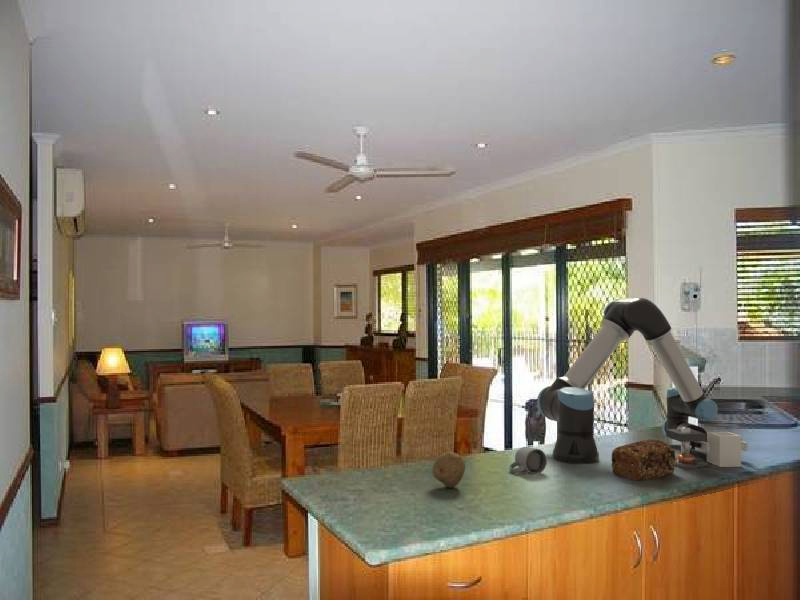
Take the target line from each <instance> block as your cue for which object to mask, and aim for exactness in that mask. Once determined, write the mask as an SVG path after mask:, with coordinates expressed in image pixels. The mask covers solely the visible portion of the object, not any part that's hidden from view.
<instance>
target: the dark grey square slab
mask: <svg viewBox="0 0 800 600" xmlns="http://www.w3.org/2000/svg"><path fill="white" fill-rule="evenodd" d="M665 436H666V437H667V438H669V439H671V438H672V439H671V440H673V439H674V440H673V441H677V442H680V443H681V442H686V441H706V434H705V433H702V432H699V431H696V430H693V429H690V432H688V433H683V432H681V429H666V435H665Z"/></svg>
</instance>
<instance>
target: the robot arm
mask: <svg viewBox="0 0 800 600" xmlns="http://www.w3.org/2000/svg"><path fill="white" fill-rule="evenodd" d="M600 324H601V327H600V329H599V330H598V331H597V333H595V335H594V336H593V338H592V339H591V340H590V342H589V343H588V344H587V345H586V347H585V348H584V350H583V351H582V352H581V353H580V354H579V356H578V357H577V358H576V360H575V361H574V362H573V363H572V365H571V366H570V368H568V370H567V372H566V373H565V374H564V375H563V376H561V377H559V376H558V377H557V378H556V379H554V381H553V383H552V384H551V385H548V386H546V387H545V386H544V388H543V389H541V390H540V392H539V393H538V395H537V400H536V404H537V408H538V411H539V412H540V414H541V415H542V416H543V417H545V418H546V419H548V420H550V421H554V422H557V424H558V425H557V428H558V430H557V433H558V434H557V437H556V440H555V444H554V448H553V450H552V459H554V460H555V461H558V462H564V463H567V464H568V463H569V464H593V463H597V462H599V461H600V453H599V451H598V447H597V444H596V440H595V437H594V433H595V431H594V430H595V429H594V428H595V422H594V421H595V398H594V393H593V392H592V391H590V390H588V389H587V387H588V386H589V384H590V383H591V382H592V380H593V379H594V378H595V377H596V375H597V374H598V373H599V371H600V370H601V368H602V367H604V365H605V364H606V362H607V361H608V360H609V359H610V357H611V355H612V354H613V353H614V352H615V351H616V349H617V348H618V346H619V345H620V343H622V342H623V341H628V340H629V339H630V337H631V336H632V335H633V334H634V333H635V332H636V331H637V332H639V333H640V334H641V335H642V336H643V338H644V340H645V341H647V342H648V343H650V344H651V347H652V348H653V350H654V351H655V353H656V355H657V358H658V359H659V360H660V362H661V364H662V366H663V368H664V369H665V372H666V373H667V374H668V377H669V378H670V380H671V382H672V384H673V385H674V387H669V388H667V390H666V398H665V400H666V418H665V419H664V421H663V422H662V424H661V430H662V433H663V434H664V435H665V436H666V429H681V427H689V428H690V429H693V430H696V431H699V432H702V433H705V434H706V441H690V450H696V449H699V450H702V451H704V452H706V453H707V452H709V443H707V432H708V431H706V430H705V429H704V428H703V426H699V425H696V424H693V423H690V422H689V417H690V418H693V419H697V420H700V421H712V420H713V419H714V418H716V416H717V415H718V411H719V410H718V409H719V408H718V405H717V403H716V401H714V400H712V399H710V398H707V396H706V394H705V392H704V391H703V389H702V387H701V385H700V383H699V382H698V380H697V377H695V374H694V372H693V371H692V369H691V367H690V365H689V364H688V362H687V360H686V358H685V356H684V355H683V353H682V350H681V349H680V347H679V346H678V343H677V342H676V340H675V338H674V337H673V334H672V333H671V331H672V326H671V324H670V323H669V321H668V319H667V318H666V316H665V314H664V313H663V312H662V310H661V309H660V307H658V306H657V305H656V304H655V303H654V302H652V301H651V300H649V299H647V298H644V297H629V298H627V297H620V298H617V299H613V300H611V301H610V302H609V303H608V304H607V305H606V307H605V308H604V311H603V318H602V319H601V320H600ZM670 439H671V440H673V441H675V440H674V439H672V438H670ZM741 451H744V452H749V442H747V441H743V439H742V438H741Z"/></svg>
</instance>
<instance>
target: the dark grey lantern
mask: <svg viewBox="0 0 800 600" xmlns="http://www.w3.org/2000/svg"><path fill="white" fill-rule="evenodd" d="M681 432H683V433H688V432H690V428H689V427H681ZM675 458H676V462H675V464H674V466H675V467H677V466H678V468H681V469H685V470H690V469H691V468H693V469H698V468H697V467H700V468H705V466H707V467H710V463H708V462H707V461H702V460H698V459H695V456H694V455H693V454H691V446H690V441H686V442H680V453H678V454H676V457H675Z"/></svg>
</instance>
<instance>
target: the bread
mask: <svg viewBox="0 0 800 600" xmlns="http://www.w3.org/2000/svg"><path fill="white" fill-rule="evenodd" d="M676 458H677V457H676V450H675V449H674V448H672V447H671V446H670V445H669V444H667V443H665V442H663V440H659V439H644V440H640V441H635V442H632V443H626V444H624V445H621V446H618V447H615V448H614V449H613V450H612V451H611V469H612V473H613V475H615V476H618V478H619V477H620V478H627V479H628V480H631V481H636V482H643V481H647V480H652V479H656V478H660V477H664V476H668V475H671V474H673V473H674V471H675V468H676V466H674V464H675V462H676Z"/></svg>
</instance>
